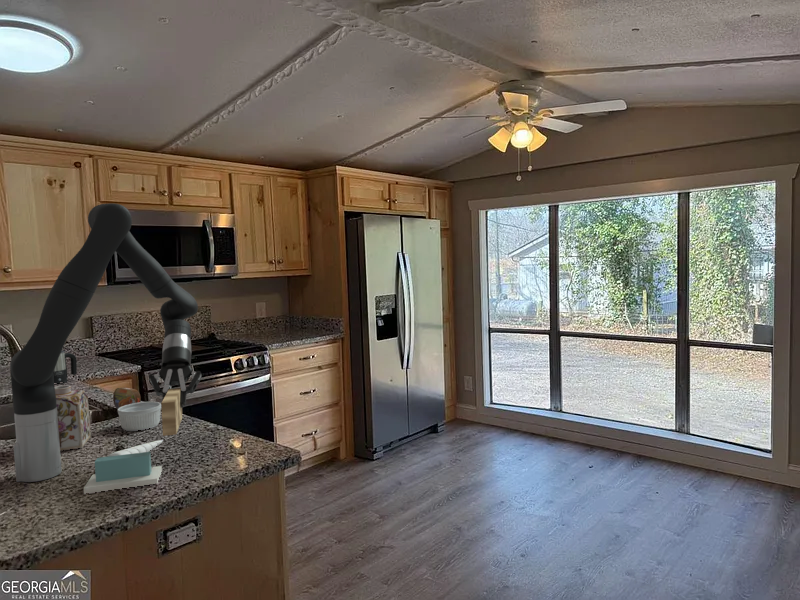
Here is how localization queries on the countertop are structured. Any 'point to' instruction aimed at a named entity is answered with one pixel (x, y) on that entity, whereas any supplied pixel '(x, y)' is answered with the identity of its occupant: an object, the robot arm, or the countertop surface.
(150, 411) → the ramekin
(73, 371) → the milk frother
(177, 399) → the wooden beam
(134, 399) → the tin
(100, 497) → the countertop surface
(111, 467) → the ridge stand
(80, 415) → the decorative jar
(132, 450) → the unicorn horn
